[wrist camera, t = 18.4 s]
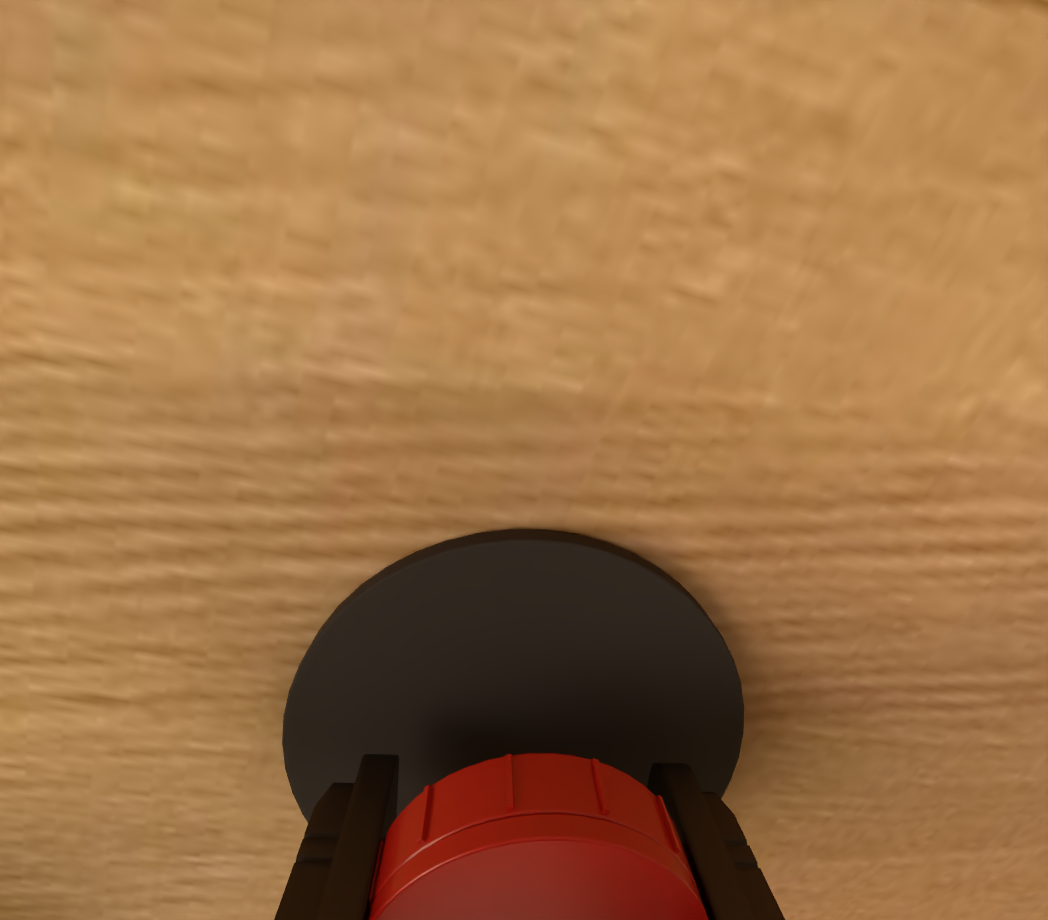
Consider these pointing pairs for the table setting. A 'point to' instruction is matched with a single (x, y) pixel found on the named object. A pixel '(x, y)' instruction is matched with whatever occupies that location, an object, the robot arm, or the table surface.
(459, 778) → the lid
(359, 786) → the robot arm
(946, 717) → the table surface
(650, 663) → the coaster
